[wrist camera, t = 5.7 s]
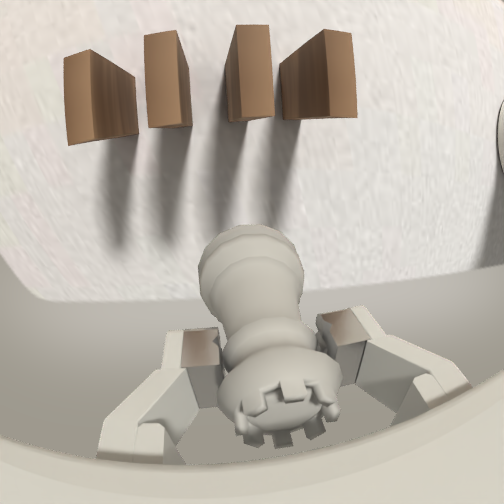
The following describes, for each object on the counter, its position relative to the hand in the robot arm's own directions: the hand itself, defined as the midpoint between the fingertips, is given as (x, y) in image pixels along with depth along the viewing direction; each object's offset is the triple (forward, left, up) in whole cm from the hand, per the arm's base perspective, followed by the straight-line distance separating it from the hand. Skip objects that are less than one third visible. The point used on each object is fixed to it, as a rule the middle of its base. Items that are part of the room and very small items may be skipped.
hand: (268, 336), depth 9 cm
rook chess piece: (0, 0, -5) cm, 5 cm away
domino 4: (-6, -9, -18) cm, 21 cm away
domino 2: (+3, -9, -18) cm, 20 cm away
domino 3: (-1, -9, -18) cm, 20 cm away
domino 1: (+8, -9, -18) cm, 21 cm away
